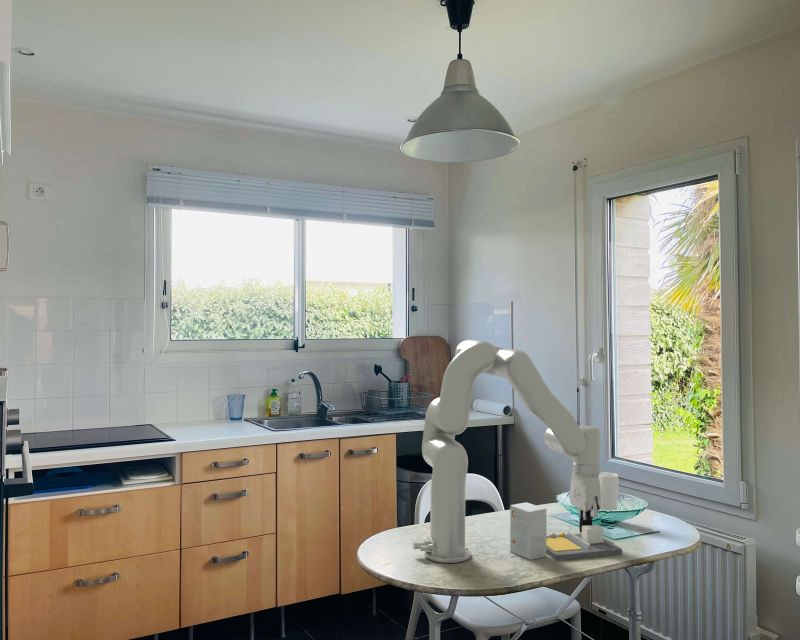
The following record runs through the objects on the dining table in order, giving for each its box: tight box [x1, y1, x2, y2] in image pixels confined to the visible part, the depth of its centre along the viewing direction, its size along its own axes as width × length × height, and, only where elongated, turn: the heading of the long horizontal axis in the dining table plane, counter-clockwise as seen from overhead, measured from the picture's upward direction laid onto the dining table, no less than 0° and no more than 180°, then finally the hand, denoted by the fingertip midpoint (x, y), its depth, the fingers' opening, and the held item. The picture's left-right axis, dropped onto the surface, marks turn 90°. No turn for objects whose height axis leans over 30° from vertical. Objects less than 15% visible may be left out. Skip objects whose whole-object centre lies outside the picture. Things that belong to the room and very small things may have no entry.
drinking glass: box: [599, 471, 620, 511], centre depth 213 cm, size 7×7×15 cm
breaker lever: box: [582, 524, 604, 544], centre depth 188 cm, size 5×3×4 cm, turn 104°
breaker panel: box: [546, 531, 623, 561], centre depth 187 cm, size 20×15×2 cm
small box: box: [509, 501, 548, 561], centre depth 182 cm, size 8×6×13 cm
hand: (585, 532), depth 191 cm, fingers closed
